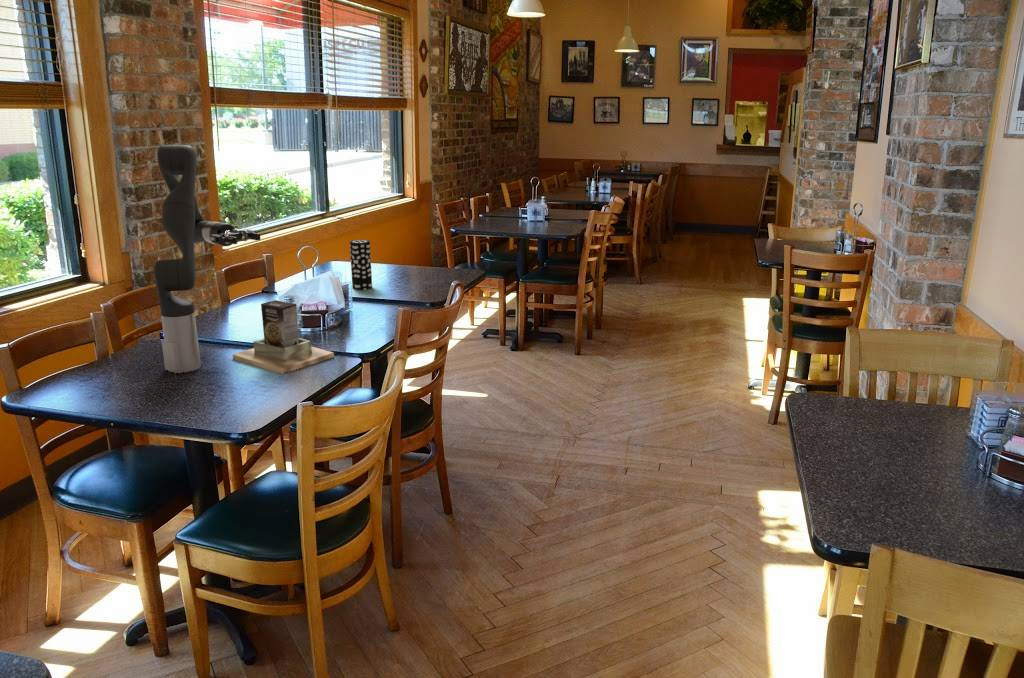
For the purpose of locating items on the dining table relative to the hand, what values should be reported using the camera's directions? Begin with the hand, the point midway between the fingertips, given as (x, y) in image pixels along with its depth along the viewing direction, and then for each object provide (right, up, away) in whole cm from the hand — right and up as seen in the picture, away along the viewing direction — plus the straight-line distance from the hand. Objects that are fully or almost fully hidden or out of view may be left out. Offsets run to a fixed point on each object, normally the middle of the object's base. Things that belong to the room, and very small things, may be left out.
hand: (247, 239), depth 254 cm
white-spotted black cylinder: (+21, -11, +83) cm, 87 cm away
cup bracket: (+13, -38, -6) cm, 41 cm away
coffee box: (+13, -37, -6) cm, 40 cm away
